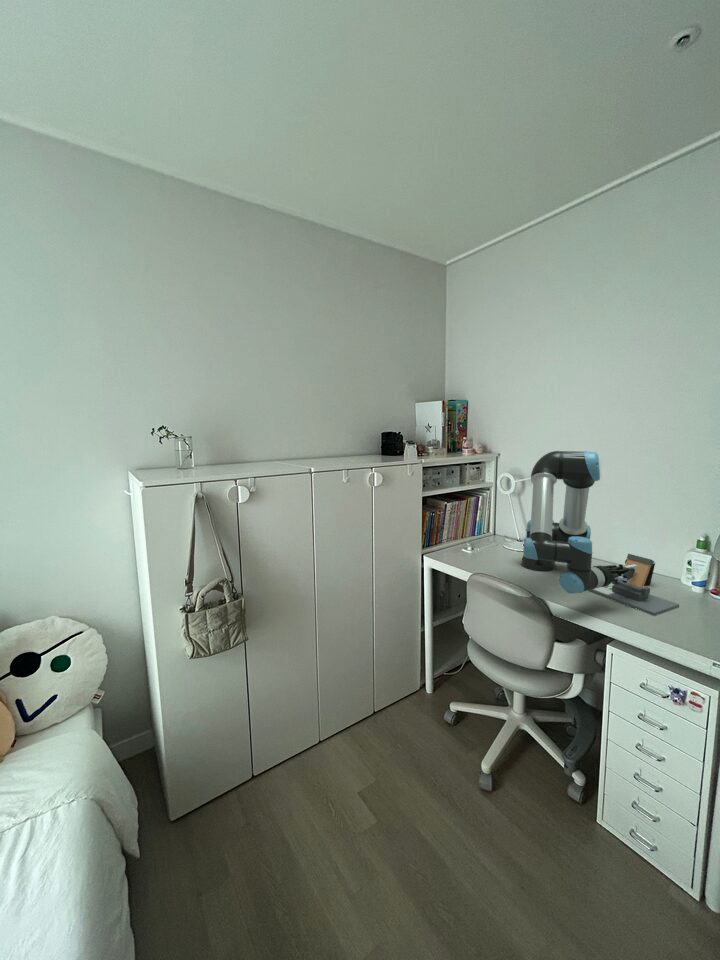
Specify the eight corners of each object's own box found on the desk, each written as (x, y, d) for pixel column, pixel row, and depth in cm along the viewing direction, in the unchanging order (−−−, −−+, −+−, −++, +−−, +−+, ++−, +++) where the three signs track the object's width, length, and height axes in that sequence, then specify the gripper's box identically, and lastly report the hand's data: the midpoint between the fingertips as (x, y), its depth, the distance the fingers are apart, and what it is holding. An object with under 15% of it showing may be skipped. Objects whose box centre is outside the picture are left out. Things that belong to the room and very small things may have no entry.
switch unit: (584, 589, 161) (585, 575, 160) (608, 582, 168) (609, 569, 167) (654, 615, 138) (655, 599, 137) (679, 606, 144) (680, 591, 144)
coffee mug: (657, 587, 162) (659, 564, 161) (634, 586, 164) (636, 563, 163) (643, 577, 173) (645, 555, 172) (622, 576, 175) (623, 554, 174)
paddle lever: (616, 582, 155) (627, 553, 157) (619, 584, 156) (630, 555, 158) (640, 590, 147) (652, 559, 149) (643, 592, 148) (654, 561, 150)
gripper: (578, 581, 148) (617, 572, 158) (613, 593, 136) (653, 583, 146) (580, 562, 147) (619, 554, 157) (614, 572, 135) (654, 563, 145)
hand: (635, 568), depth 152 cm, fingers closed
